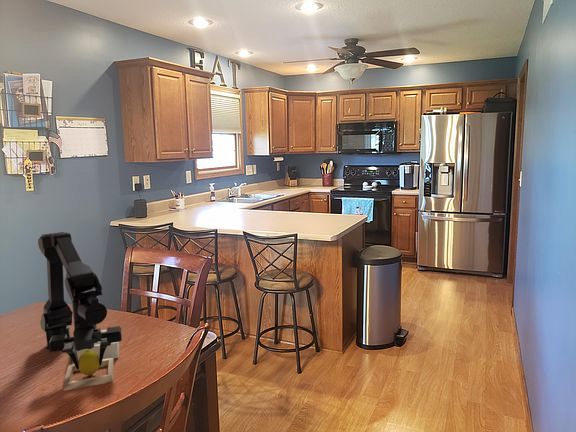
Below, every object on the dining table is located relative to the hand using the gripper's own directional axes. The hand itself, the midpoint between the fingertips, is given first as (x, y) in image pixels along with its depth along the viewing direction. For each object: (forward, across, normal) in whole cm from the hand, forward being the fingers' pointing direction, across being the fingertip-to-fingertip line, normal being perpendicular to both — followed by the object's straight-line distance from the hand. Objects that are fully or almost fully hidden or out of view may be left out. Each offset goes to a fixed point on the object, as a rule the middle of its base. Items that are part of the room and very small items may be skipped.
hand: (89, 366), depth 129 cm
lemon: (+3, 0, 0) cm, 3 cm away
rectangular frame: (+3, 0, 0) cm, 3 cm away
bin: (+3, +1, +16) cm, 16 cm away
